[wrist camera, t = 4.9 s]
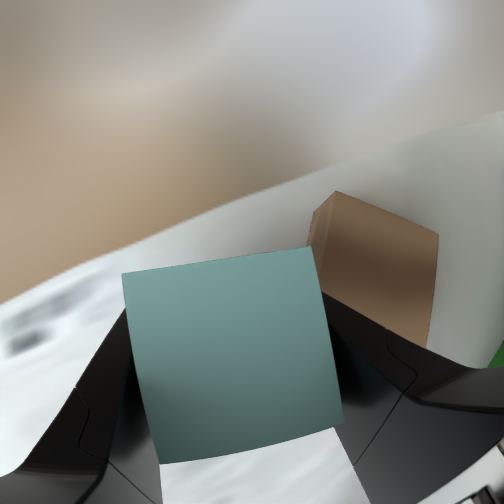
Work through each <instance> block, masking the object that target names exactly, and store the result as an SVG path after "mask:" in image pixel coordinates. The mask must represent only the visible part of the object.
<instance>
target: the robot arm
mask: <svg viewBox="0 0 504 504" xmlns="http://www.w3.org/2000/svg"><path fill="white" fill-rule="evenodd" d="M321 295H322V299H323V304H324V309H325V314H326V319H327V324H328V329H329V335H330V340H331V345H332V351H333V356H334V362H335V368H336V373H337V379H338V385H339V391H340V397H341V404H342V410H343V417H344V423H343V424H340V425H337V426H334V429H335V431H336V433H337V435H338V437H339V439H340V441H341V443H342V445H343V447H344V449H345V451H346V453H347V455H348V457H349V459H350V461H351V463H352V466H354V467H353V468H354V470H355V472H356V474H357V476H358V478H359V480H360V482H361V484H362V486H363V488H364V490H365V492H366V495H367V497H368V499H369V501H370V503H371V504H504V366H500V367H492V368H483V369H478V368H470V367H466V366H463V365H461V364H458V363H456V362H454V361H452V360H449V359H447V358H445V357H443V356H441V355H438V354H436V353H434V352H432V351H429V350H427V349H425V348H423V347H421V346H419V345H417V344H415V343H413V342H411V341H409V340H407V339H405V338H403V337H402V336H400V335H398V334H396V333H394V332H393V331H391V330H389V329H386V328H385V327H384V326H382V325H380V324H378V323H377V322H375V321H373V320H371V319H370V318H368V317H366V316H364V315H363V314H361V313H359V312H357V311H356V310H354V309H352V308H350V307H349V306H347V305H345V304H343V303H342V302H340V301H338V300H336V299H335V298H333V297H331V296H329V295H328V294H326V293H324V292H322V291H321ZM75 387H76V388H74V389H73V390H72V392H71V394H70V395H69V397H68V399H67V400H66V402H65V403H64V405H63V407H62V408H61V410H60V411H59V413H58V414H57V416H56V417H55V419H54V420H53V421H52V423H51V424H50V426H49V427H48V429H47V430H46V431H45V433H44V434H43V435H42V437H41V438H40V440H39V441H38V442H37V444H36V445H35V447H34V448H33V449H32V451H31V452H30V454H29V455H28V457H27V458H26V459H25V460H24V462H23V463H22V464H21V465H20V466H19V467H18V468H17V469H15V470H14V471H12V472H11V473H9V474H7V475H4V476H2V477H0V504H163V501H162V491H161V480H160V468H159V461H158V457H157V454H156V451H155V447H154V443H153V440H152V436H151V432H150V429H149V425H148V421H147V417H146V413H145V409H144V404H143V400H142V396H141V391H140V386H139V382H138V377H137V372H136V367H135V362H134V356H133V351H132V345H131V339H130V333H129V327H128V321H127V314H126V307H125V309H124V310H123V312H122V313H121V315H120V316H119V318H118V319H117V321H116V322H115V324H114V325H113V327H112V328H111V330H110V331H109V333H108V334H107V336H106V337H105V339H104V341H103V342H102V344H101V345H100V347H99V348H98V350H97V351H96V353H95V355H94V356H93V358H92V359H91V361H90V363H89V364H88V366H87V367H86V369H85V371H84V372H83V374H82V376H81V377H80V379H79V380H78V382H77V384H76V386H75Z"/></svg>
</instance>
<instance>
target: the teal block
mask: <svg viewBox="0 0 504 504" xmlns="http://www.w3.org/2000/svg"><path fill="white" fill-rule="evenodd" d="M122 283H123V291H124V299H125V307H126V314H127V321H128V327H129V333H130V339H131V345H132V351H133V356H134V362H135V367H136V372H137V377H138V382H139V386H140V391H141V396H142V400H143V404H144V409H145V413H146V417H147V421H148V425H149V429H150V432H151V436H152V440H153V443H154V447H155V451H156V454H157V457H158V461H159V464H169V463H178V462H185V461H193V460H199V459H206V458H212V457H218V456H223V455H229V454H234V453H239V452H244V451H248V450H253V449H257V448H261V447H266V446H270V445H274V444H278V443H281V442H285V441H289V440H292V439H296V438H300V437H303V436H306V435H310V434H313V433H316V432H319V431H322V430H325V429H329V428H332V427H334V426H337V425H340V424H343V423H344V417H343V410H342V404H341V397H340V391H339V385H338V379H337V373H336V368H335V362H334V356H333V351H332V345H331V340H330V335H329V329H328V324H327V319H326V314H325V309H324V304H323V299H322V295H321V290H320V285H319V280H318V276H317V271H316V267H315V262H314V258H313V253H312V249H311V246H308V247H301V248H294V249H288V250H281V251H274V252H267V253H260V254H254V255H247V256H240V257H233V258H226V259H219V260H213V261H206V262H199V263H192V264H185V265H178V266H171V267H164V268H158V269H151V270H144V271H137V272H130V273H123V274H122Z"/></svg>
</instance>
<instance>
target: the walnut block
mask: <svg viewBox="0 0 504 504" xmlns="http://www.w3.org/2000/svg"><path fill="white" fill-rule="evenodd" d="M438 239H439V234H437V233H435V232H433V231H431V230H428V229H426V228H424V227H422V226H420V225H417V224H415V223H413V222H411V221H408V220H406V219H404V218H402V217H399V216H397V215H395V214H392V213H390V212H388V211H385V210H383V209H380V208H378V207H376V206H373V205H371V204H368V203H366V202H363V201H361V200H358V199H356V198H353V197H351V196H348V195H346V194H343V193H341V192H338V191H335V192H334V193H333V194H332V195H331V196H330V197H329V198H328V199H327V200H326V201H325V202H324V203H323V204H322V205H321V206H320V207H319V208H318V209H317V210H316V211H315V212H314V213H313V218H312V223H311V227H310V232H309V236H308V241H307V245H306V247H308V246H311V249H312V253H313V258H314V262H315V267H316V271H317V276H318V280H319V285H320V290H321V291H322V292H324V293H326V294H328V295H329V296H331V297H333V298H335V299H336V300H338V301H340V302H342V303H343V304H345V305H347V306H349V307H350V308H352V309H354V310H356V311H357V312H359V313H361V314H363V315H364V316H366V317H368V318H370V319H371V320H373V321H375V322H377V323H378V324H380V325H382V326H384V327H385V328H386V329H389V330H391V331H393V332H394V333H396V334H398V335H400V336H402V337H403V338H405V339H407V340H409V341H411V342H413V343H415V344H417V345H419V346H421V347H423V348H426V343H427V337H428V331H429V325H430V319H431V312H432V304H433V296H434V288H435V278H436V268H437V255H438Z"/></svg>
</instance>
